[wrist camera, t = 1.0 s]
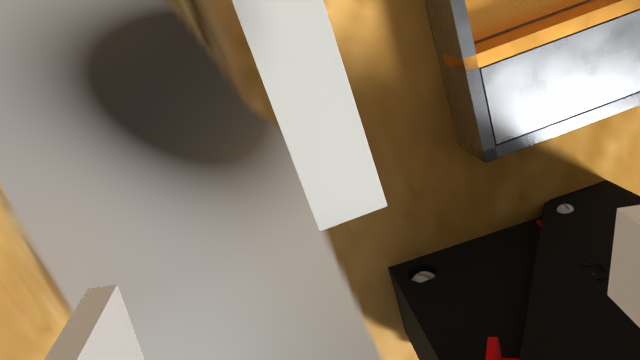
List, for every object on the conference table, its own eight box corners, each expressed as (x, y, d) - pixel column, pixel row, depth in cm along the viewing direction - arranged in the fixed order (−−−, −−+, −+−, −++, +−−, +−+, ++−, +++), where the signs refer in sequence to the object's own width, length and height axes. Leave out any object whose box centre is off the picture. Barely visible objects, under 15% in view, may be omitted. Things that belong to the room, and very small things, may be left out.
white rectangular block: (297, 166, 33) (319, 231, 24) (235, 0, 29) (231, 0, 20) (346, 148, 33) (387, 205, 24) (291, -20, 29) (314, -29, 20)
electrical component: (410, 352, 40) (559, 661, 21) (382, 246, 36) (531, 507, 17) (614, 283, 41) (930, 524, 22) (606, 172, 37) (979, 347, 18)
